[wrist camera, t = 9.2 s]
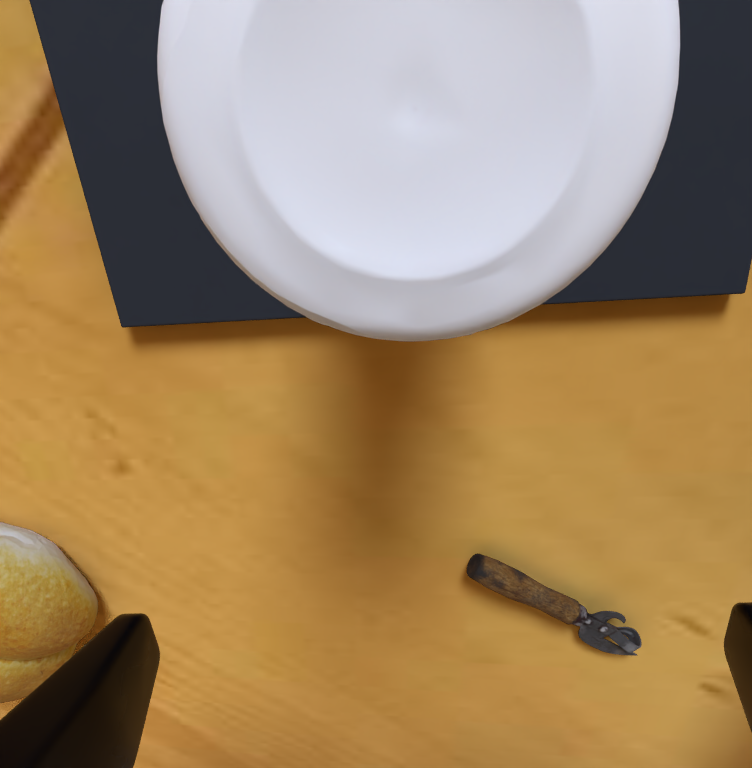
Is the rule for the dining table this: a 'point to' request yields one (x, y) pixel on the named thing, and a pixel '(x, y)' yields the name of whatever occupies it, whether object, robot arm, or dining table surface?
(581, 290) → the desk mat
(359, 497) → the dining table surface
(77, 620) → the bread roll
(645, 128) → the spice jar
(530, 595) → the can opener
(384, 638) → the dining table surface
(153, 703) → the dining table surface
